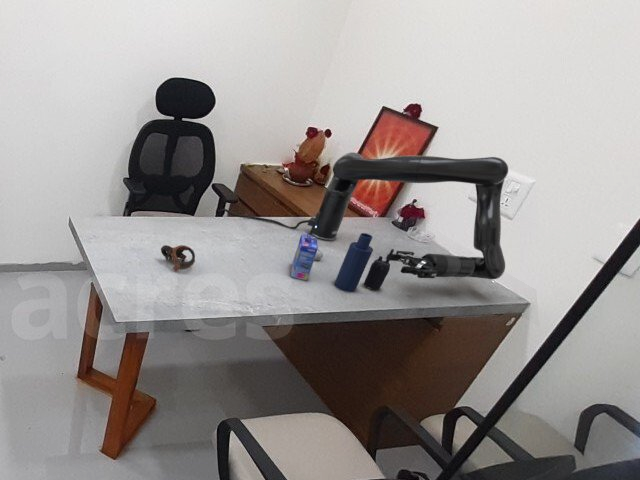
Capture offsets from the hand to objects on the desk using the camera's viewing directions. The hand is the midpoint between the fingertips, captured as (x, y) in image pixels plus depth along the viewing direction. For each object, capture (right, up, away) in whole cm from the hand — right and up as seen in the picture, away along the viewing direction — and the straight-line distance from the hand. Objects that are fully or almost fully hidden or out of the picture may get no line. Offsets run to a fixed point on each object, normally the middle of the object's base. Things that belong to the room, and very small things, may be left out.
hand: (394, 263), depth 169 cm
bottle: (-14, -8, +4) cm, 17 cm away
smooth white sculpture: (-18, +4, +21) cm, 28 cm away
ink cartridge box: (-28, -3, +9) cm, 29 cm away
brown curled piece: (-71, 0, +6) cm, 71 cm away
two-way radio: (-5, -8, +5) cm, 11 cm away
